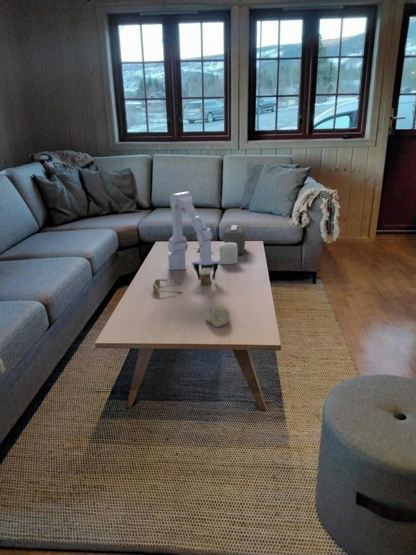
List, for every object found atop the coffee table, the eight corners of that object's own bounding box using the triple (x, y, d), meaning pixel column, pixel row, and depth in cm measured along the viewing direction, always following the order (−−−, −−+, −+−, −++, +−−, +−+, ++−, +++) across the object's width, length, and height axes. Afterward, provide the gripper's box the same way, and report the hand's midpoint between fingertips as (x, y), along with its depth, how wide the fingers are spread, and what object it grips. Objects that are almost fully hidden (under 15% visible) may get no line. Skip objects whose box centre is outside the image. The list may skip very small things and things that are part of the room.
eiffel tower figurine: (214, 255, 252) (213, 234, 247) (197, 257, 250) (196, 236, 245) (208, 247, 266) (207, 227, 261) (193, 249, 264) (191, 229, 259)
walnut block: (201, 285, 210) (200, 274, 208) (201, 279, 218) (201, 268, 215) (209, 285, 210) (209, 274, 208) (210, 279, 218) (209, 268, 215)
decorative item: (239, 314, 172) (220, 311, 166) (230, 332, 174) (212, 330, 168) (224, 300, 181) (206, 297, 175) (216, 317, 184) (198, 315, 178)
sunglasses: (153, 285, 214) (153, 276, 212) (182, 286, 215) (182, 278, 214) (152, 297, 201) (152, 287, 199) (183, 298, 202) (184, 289, 201)
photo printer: (236, 261, 240) (236, 240, 235) (238, 263, 236) (238, 243, 232) (219, 262, 239) (218, 242, 234) (220, 265, 235) (220, 244, 230)
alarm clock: (227, 247, 264) (226, 223, 258) (245, 247, 263) (245, 223, 256) (224, 255, 249) (224, 231, 243) (243, 256, 248) (243, 231, 242)
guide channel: (198, 278, 219) (198, 274, 219) (200, 266, 234) (199, 263, 233) (214, 277, 219) (214, 274, 218) (215, 266, 234) (215, 263, 233)
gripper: (190, 255, 205) (191, 280, 210) (219, 255, 204) (220, 280, 209) (191, 251, 211) (193, 275, 217) (220, 250, 211) (220, 275, 216)
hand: (206, 277), depth 214 cm, fingers open, 7 cm apart
